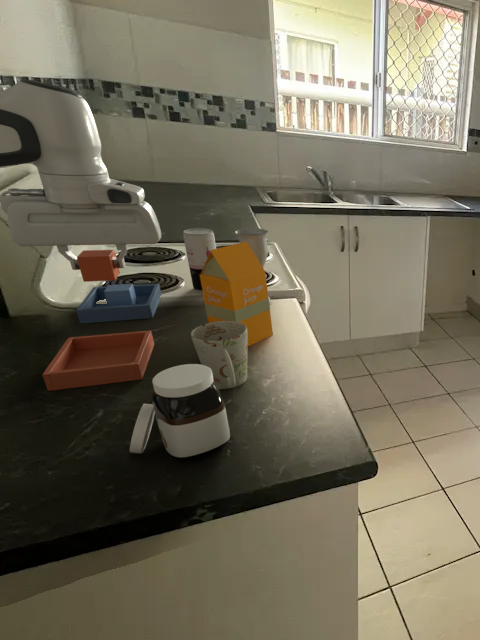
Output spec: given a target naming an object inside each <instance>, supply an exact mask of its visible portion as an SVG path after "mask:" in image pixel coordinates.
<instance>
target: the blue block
mask: <svg viewBox="0 0 480 640" xmlns="http://www.w3.org/2000/svg"><path fill="white" fill-rule="evenodd" d="M133 285H134V284H133V283H124V284H123V283H122V284H121V283H120V284H108V285H106V287H107V288H106V289H105V291H104V294H105V298H106V301H107V305H108V307H112V306H127V305H136V304H137V298H136V294H135V290H134V286H133Z"/></svg>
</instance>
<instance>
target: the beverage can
mask: <svg viewBox="0 0 480 640" xmlns="http://www.w3.org/2000/svg"><path fill="white" fill-rule="evenodd" d="M182 232H183V234H182V236H183V237H182V238H183V242H184V247H185V254H186V258H187V263H188V267H189V268H188V269H189V272H190V277H191V283H192V287H193V290H195V291H197V292H199V293H203V290H202V285H201V280H200V274H201V272H202V270H203V267H204V265H205V263H206V260H207V258H208V256H209V253H210V250H213V249H217V244H216V238H215V233H214V231H213V229H209V228H201V227H199V228H188V229H185V230H183V231H182Z"/></svg>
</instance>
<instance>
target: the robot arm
mask: <svg viewBox="0 0 480 640" xmlns="http://www.w3.org/2000/svg"><path fill="white" fill-rule="evenodd" d="M93 115H94V114H93V113H92V110H91V108H90V105H89V103H88V102H87V101H86V99H85V98H84V97H83V96H82V95H81V94H79V93H78V92H76V91H75V90H73V89H70V88H67V87H64V86H61V85H58V84H54V83H49V82H42V81H38V80H35V79H21V80H18V81H17V82H16V83H15V84H14V85H12V86H10V87H7V88H6V89H3V90H1V91H0V169H4V168H10V167H14V166H20V165H33V166H35V167H36V168H37V171H38V175H39V179H40V182H41V185H42V188H15V187H13V188H8V190H6V191H3V192H1V193H0V206H1V209H2V211H3V212H4V214H6V217H7V225H8V230H9V235H10V238H11V240H12V242H14V243H15V244H16V245H18V246H20V247H56V248H57V251H58V253H59V254H60V255H62V256H63V257H64V258H65V259H66V260H67V261H69V263H70V267H71V269H72V270H73V271H80V267H79V264H78V260H77V256H76V255H75V254H74V253H73V252H72V251H71V249H72V248H73V246H110V245H111V246H112V245H113V246H115V247H116V250H117V251H120V252H119V255H118V256H116V257H114V258H113V259H112V261H113V264H114V268H119V269H125V268H126V262H125V256H126V254H127V252H128V250H129V248H130V247H129V245H155V244H157V243H158V242H159V241H160V240H161V239H162V230H161V227H160V222H159V220H158V218H157V215H156V213H155V210H154V209H153V207H152V205H150V203H149V202H147V201H146V200H145V197H146V194H145V190H144V188H143V187H141V186H140V185H139V186H138V185H137V184H131V183H128V182H125V181H120V180H117V179H114V178H110V176H109V170H108V168H107V167H106V164H105V163H104V161H103V159H102V158H103V157H102V141H101V137H100V134H99V130H98V127H97V123H96V121H95V118H94V116H93Z"/></svg>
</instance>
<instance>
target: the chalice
mask: <svg viewBox="0 0 480 640" xmlns="http://www.w3.org/2000/svg"><path fill="white" fill-rule="evenodd" d="M235 234H236V235H237V237H238V241H239V243H243V242H247V243H248V245H249V246H250V248H251V249H252V251H253V253H254V254H255V256H256V257H257V259H258V261H259V262H260V264H261V265H262V267H263V268H264V266H265V264H266V262H267V260H268V259H267V258H268V254H269V248H268V239H267V238H268V237H267V236H268V234H269V230H267V229H264V228H257V227H256V228H255V227H249V228H248V227H247V228H241V229H238V230H236V231H235ZM239 243H238V244H239ZM268 298H269V304H270V306H271V305H272V304H273V301H272V299H271V298H270V296H269V295H268Z"/></svg>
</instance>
